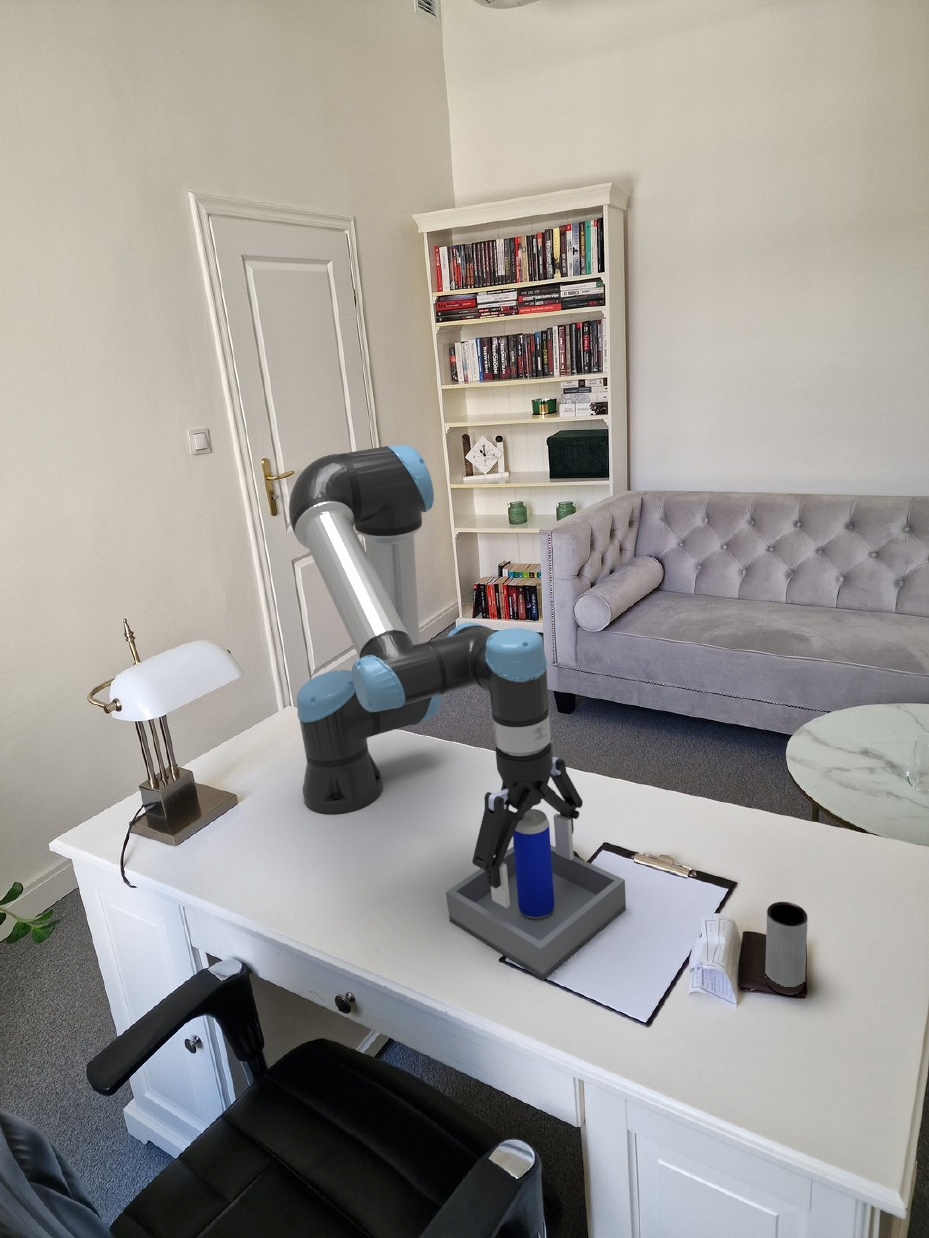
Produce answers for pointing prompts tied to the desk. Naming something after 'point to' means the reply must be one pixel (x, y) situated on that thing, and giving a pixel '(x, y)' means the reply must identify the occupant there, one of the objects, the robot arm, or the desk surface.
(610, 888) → the bin
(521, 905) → the beverage can
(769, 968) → the grey cylinder
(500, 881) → the robot arm
